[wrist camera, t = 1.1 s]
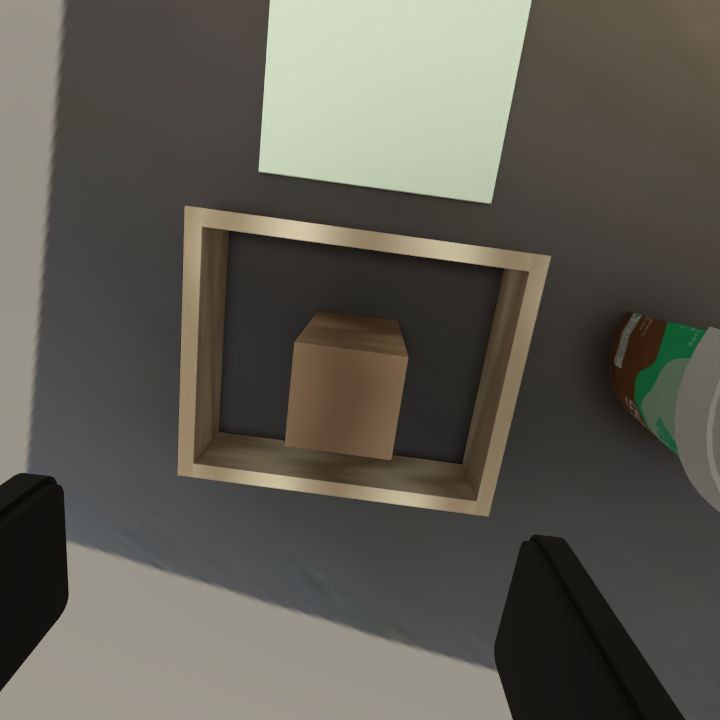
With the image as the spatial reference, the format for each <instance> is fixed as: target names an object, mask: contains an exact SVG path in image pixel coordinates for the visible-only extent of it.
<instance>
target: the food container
mask: <svg viewBox="0 0 720 720" xmlns="http://www.w3.org/2000/svg"><path fill="white" fill-rule="evenodd" d="M609 371H610V383H611V385H612V387H613V390H614V392H615V394H616V397H617V399H618V401H619V403H620V404H621V405H622V406H623V407H624V408H625V409H626V410H627V412H628V413H629V414H630V415H631V416H632V417H634V418H635V419H636V420H637V421H638V422H639V423H640V424H642V425H643V426H644V427H645V428H646V429H647V430H649V431H650V432H651V433H652V434H653V435H654V436H655V437H657V438H658V439H659V440H660V441H661V442H662V443H664V444H665V445H666V446H667V447H668V448H669V449H670V450H672V451H673V452H674V453H675V454H676V455H677V456H679V457H680V461H681V463H682V465H683V468H684V470H685V472H686V474H687V476H688V479H689V480H690V481H691V483H692V484H693V486H694V487H695V488H696V490H697V491H698V493H699V494H700V495H701V496H702V497H703V498H704V499H705V500H706V501H707V502H708V503H709V504H710V505H711V506H713V507H714V508H715V509H716V510H718V511H719V512H720V330H719V329H716V328H713V327H709V328H708V330H703V329H699V328H695V327H690V326H686V325H682V324H678V323H674V322H670V321H666V320H661V319H657V318H653V317H649V316H645V315H641V314H637V313H632V312H628V311H627V313H626V314H625V316H624V318H623V319H622V321H621V323H620V325H619V326H618V328H617V330H616V333H615V336H614V340H613V343H612V347H611V350H610V354H609Z"/></svg>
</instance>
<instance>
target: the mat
mask: <svg viewBox="0 0 720 720" xmlns="http://www.w3.org/2000/svg"><path fill="white" fill-rule="evenodd" d="M531 1H532V0H270V10H269V24H268V39H267V54H266V69H265V84H264V99H263V114H262V129H261V144H260V159H259V172H261V173H267V174H274V175H281V176H288V177H295V178H303V179H310V180H317V181H324V182H332V183H339V184H346V185H353V186H361V187H368V188H375V189H382V190H389V191H397V192H404V193H411V194H418V195H426V196H433V197H440V198H447V199H455V200H462V201H469V202H476V203H484V204H491V202H492V197H493V192H494V187H495V182H496V177H497V172H498V167H499V162H500V157H501V152H502V147H503V142H504V137H505V132H506V127H507V122H508V117H509V112H510V107H511V101H512V96H513V91H514V86H515V81H516V76H517V71H518V66H519V61H520V56H521V51H522V46H523V41H524V36H525V31H526V26H527V21H528V16H529V11H530V6H531Z"/></svg>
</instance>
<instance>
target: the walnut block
mask: <svg viewBox="0 0 720 720" xmlns="http://www.w3.org/2000/svg"><path fill="white" fill-rule="evenodd" d="M407 363H408V354H407V350H406V347H405V344H404V340H403V337H402V333H401V330H400V326H399V323H398V321H397V320H389V319H382V318H375V317H367V316H360V315H353V314H345V313H338V312H331V311H323V310H318V311H317V313H316V314H315V315H314V317H313V318H312V319H311V321H310V322H309V323H308V325H307V326H306V327H305V329H304V330H303V331H302V333H301V334H300V335H299V337H298V338H297V339H296V341H295V342H294V352H293V363H292V373H291V384H290V394H289V404H288V415H287V425H286V436H285V446H289V447H296V448H304V449H311V450H319V451H326V452H334V453H341V454H348V455H356V456H363V457H371V458H378V459H386V460H391V459H392V453H393V447H394V441H395V435H396V429H397V423H398V417H399V411H400V405H401V399H402V393H403V387H404V381H405V375H406V369H407Z"/></svg>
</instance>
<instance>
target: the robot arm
mask: <svg viewBox="0 0 720 720" xmlns="http://www.w3.org/2000/svg"><path fill="white" fill-rule="evenodd" d="M67 573H68V572H67V552H66V530H65V509H64V492H63V488H62V486H60V485H57V482H56V480H55V479H54V478H53V477H51V476H44V475H36V474H28V473H19V474H17V475H15V476H13V477H12V478H10V479H9V480H8V481H6V482H5V483H3V484H2V485H0V691H1V690H2V689H3V687H4V686H5V685H6V684H7V682H8V681H9V680H10V679H11V677H12V676H13V675H14V674H15V672H16V671H17V670H18V669H19V667H20V666H21V665H22V664H23V662H24V661H25V660H26V659H27V657H28V656H29V655H30V654H31V652H32V651H33V650H34V649H35V647H36V646H37V645H38V644H39V642H40V641H41V640H42V639H43V637H44V636H45V635H46V633H47V632H48V631H49V630H50V628H51V627H52V626H53V625H54V624H55V622H56V621H57V620H58V619H59V617H60V616H61V614H62V613H63V611H64V609H65V607H66V604H67V601H68V594H69V593H68V574H67ZM494 656H495V663H496V666H497V670H498V673H499V676H500V679H501V683H502V686H503V689H504V692H505V696H506V699H507V702H508V705H509V708H510V712H511V715H512V718H513V720H685V719H684V717H683V716H682V714H681V713H680V711H679V710H678V708H677V707H676V705H675V704H674V702H673V701H672V699H671V698H670V696H669V695H668V693H667V692H666V690H665V689H664V687H663V686H662V684H661V683H660V681H659V680H658V678H657V677H656V675H655V674H654V672H653V671H652V669H651V668H650V666H649V665H648V663H647V662H646V660H645V659H644V657H643V656H642V654H641V653H640V651H639V650H638V648H637V647H636V645H635V644H634V642H633V641H632V639H631V638H630V636H629V635H628V633H627V632H626V630H625V629H624V627H623V626H622V624H621V623H620V621H619V620H618V618H617V617H616V615H615V614H614V612H613V611H612V609H611V608H610V606H609V605H608V603H607V602H606V600H605V599H604V597H603V596H602V594H601V593H600V591H599V590H598V588H597V587H596V585H595V584H594V582H593V581H592V579H591V578H590V576H589V575H588V573H587V572H586V570H585V569H584V567H583V566H582V564H581V563H580V561H579V560H578V558H577V557H576V555H575V554H574V552H573V551H572V549H571V548H570V546H569V545H568V543H567V542H566V541H565V540H564V539H563V538H560V537H552V536H544V535H533V536H532V537H531V538H530V540H529V541H523V543H522V544H521V547H520V551H519V554H518V558H517V562H516V566H515V569H514V573H513V577H512V581H511V584H510V588H509V592H508V596H507V599H506V603H505V607H504V611H503V614H502V618H501V622H500V626H499V630H498V633H497V637H496V641H495V646H494Z"/></svg>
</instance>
